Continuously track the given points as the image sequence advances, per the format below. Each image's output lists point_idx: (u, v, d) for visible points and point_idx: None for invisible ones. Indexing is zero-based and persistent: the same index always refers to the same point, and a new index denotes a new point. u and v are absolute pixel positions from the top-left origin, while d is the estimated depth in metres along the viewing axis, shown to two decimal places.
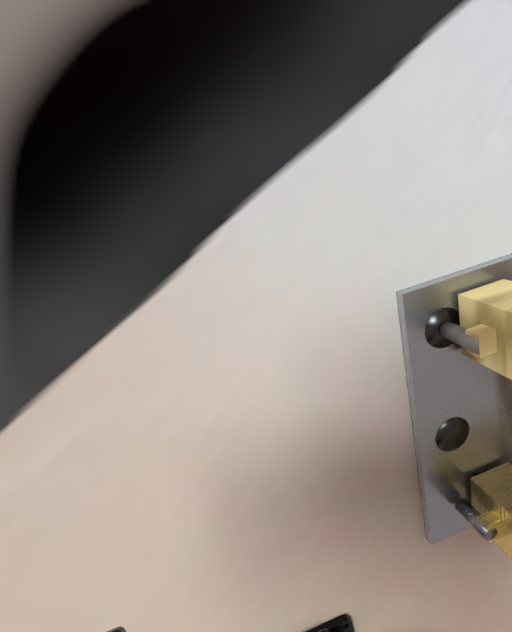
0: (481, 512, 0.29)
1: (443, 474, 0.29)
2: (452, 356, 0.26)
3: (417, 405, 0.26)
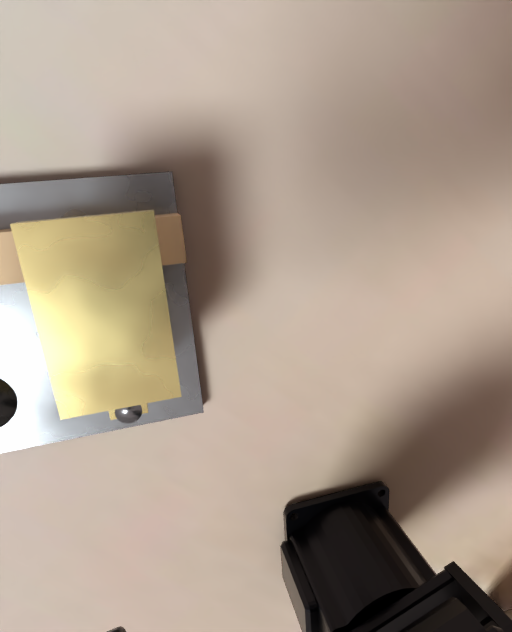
0: None
1: None
2: None
3: None
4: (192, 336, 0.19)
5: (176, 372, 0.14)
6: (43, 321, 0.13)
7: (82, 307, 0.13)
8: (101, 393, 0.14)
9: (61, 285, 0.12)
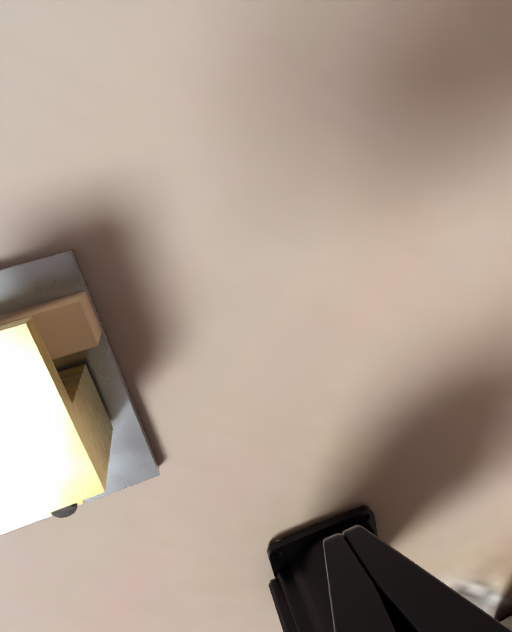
0: None
1: None
2: None
3: None
4: (130, 406, 0.18)
5: (93, 470, 0.14)
6: None
7: None
8: (18, 505, 0.13)
9: None
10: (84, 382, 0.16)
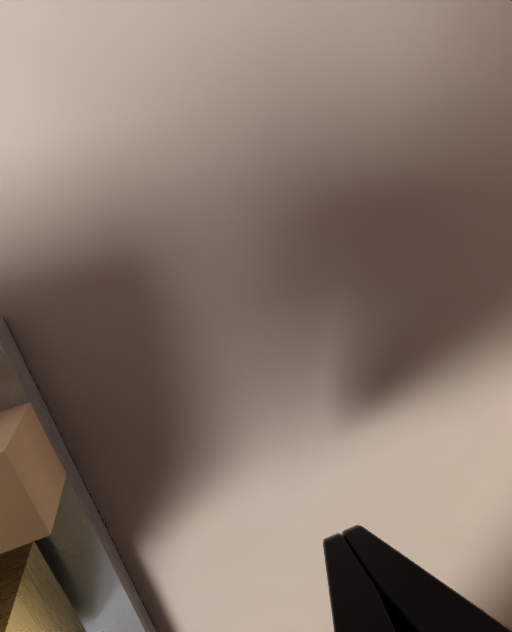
0: None
1: None
2: None
3: None
4: (124, 594, 0.10)
5: None
6: None
7: None
8: None
9: None
10: (24, 602, 0.07)
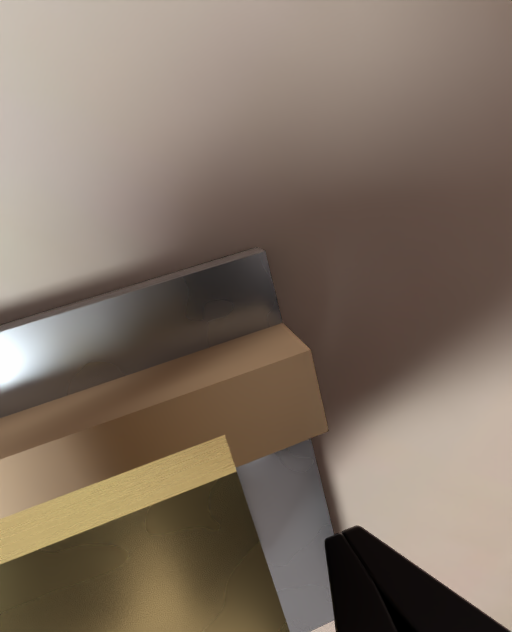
0: None
1: None
2: None
3: None
4: (326, 511, 0.11)
5: None
6: None
7: None
8: None
9: None
10: None
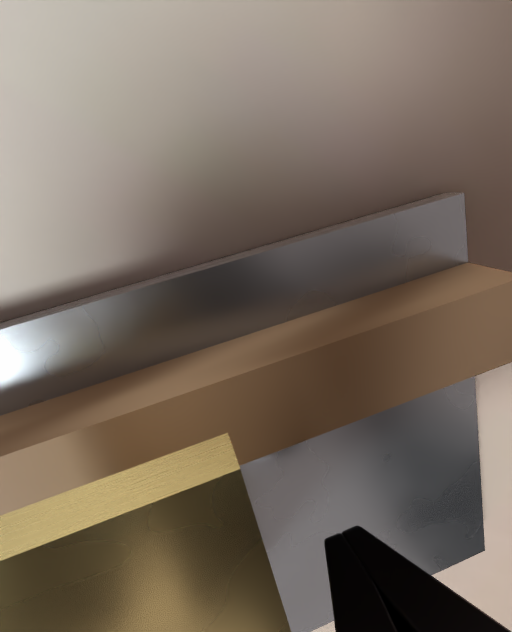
0: None
1: (298, 596, 0.11)
2: None
3: None
4: (476, 449, 0.12)
5: None
6: None
7: None
8: None
9: None
10: None
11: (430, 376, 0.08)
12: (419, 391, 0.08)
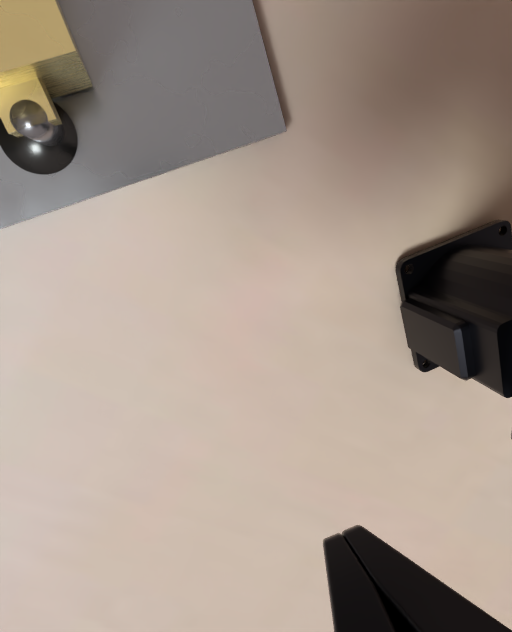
0: None
1: (131, 137, 0.15)
2: None
3: None
4: (256, 21, 0.15)
5: (56, 8, 0.10)
6: None
7: None
8: None
9: None
10: None
11: None
12: None
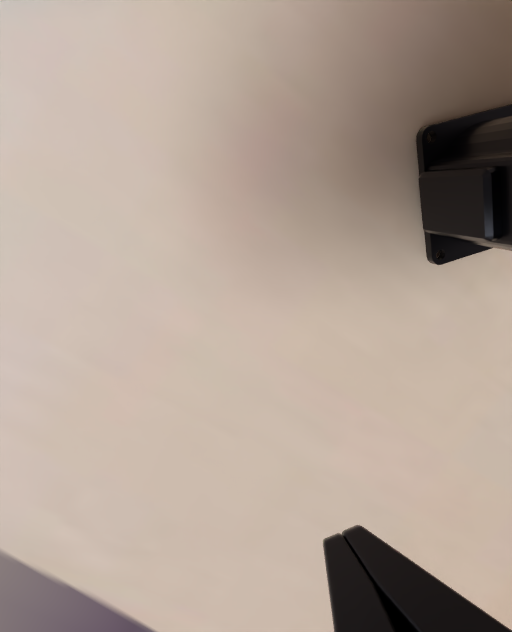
0: None
1: None
2: None
3: None
4: None
5: None
6: None
7: None
8: None
9: None
10: None
11: None
12: None
